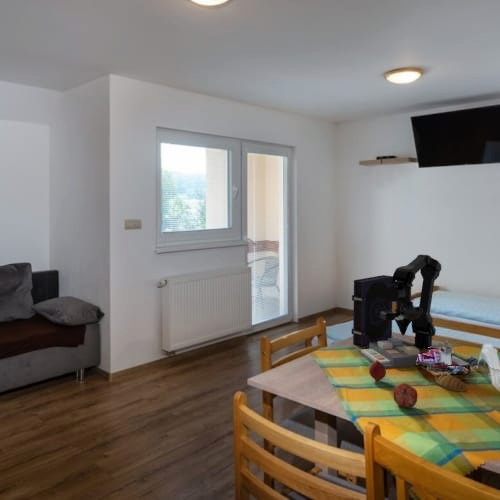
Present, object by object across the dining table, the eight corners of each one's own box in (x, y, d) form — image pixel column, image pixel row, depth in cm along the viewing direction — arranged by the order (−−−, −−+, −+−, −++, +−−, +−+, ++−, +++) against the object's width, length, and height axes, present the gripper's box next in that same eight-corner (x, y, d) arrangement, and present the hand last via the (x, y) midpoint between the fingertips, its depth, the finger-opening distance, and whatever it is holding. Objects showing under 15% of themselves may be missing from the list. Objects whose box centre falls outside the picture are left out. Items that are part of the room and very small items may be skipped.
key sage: (404, 353, 197) (404, 346, 197) (410, 356, 193) (410, 349, 192) (395, 353, 196) (395, 346, 196) (400, 357, 192) (400, 350, 192)
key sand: (412, 353, 190) (413, 346, 190) (418, 356, 186) (419, 349, 186) (403, 354, 190) (403, 346, 189) (408, 357, 185) (409, 350, 185)
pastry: (470, 389, 161) (471, 378, 160) (460, 394, 157) (460, 383, 157) (445, 381, 168) (446, 371, 168) (435, 385, 165) (435, 375, 164)
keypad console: (397, 349, 205) (397, 340, 205) (424, 365, 185) (424, 355, 185) (357, 352, 202) (357, 343, 201) (380, 368, 181) (380, 359, 181)
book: (381, 334, 229) (382, 274, 226) (392, 337, 224) (393, 276, 221) (351, 344, 214) (352, 280, 211) (362, 347, 209) (363, 281, 206)
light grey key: (387, 347, 199) (387, 340, 198) (392, 350, 194) (392, 343, 194) (377, 348, 198) (377, 341, 198) (382, 351, 193) (382, 344, 193)
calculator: (419, 358, 184) (454, 354, 186) (419, 368, 184) (454, 364, 186) (433, 367, 173) (470, 363, 175) (433, 378, 173) (471, 374, 175)
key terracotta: (394, 356, 193) (394, 349, 192) (400, 359, 188) (400, 352, 188) (384, 357, 192) (385, 350, 191) (390, 360, 187) (390, 353, 187)
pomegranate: (393, 407, 152) (386, 397, 145) (400, 386, 155) (394, 376, 148) (416, 415, 148) (410, 406, 141) (422, 393, 150) (417, 383, 143)
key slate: (397, 344, 203) (397, 337, 203) (402, 347, 199) (402, 340, 198) (387, 345, 202) (388, 338, 202) (392, 348, 198) (393, 341, 198)
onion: (386, 379, 170) (387, 358, 169) (384, 385, 165) (384, 363, 164) (370, 377, 172) (371, 356, 172) (367, 382, 167) (368, 361, 166)
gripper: (392, 303, 182) (392, 341, 184) (435, 300, 186) (434, 338, 187) (379, 297, 193) (378, 334, 195) (420, 295, 197) (419, 331, 198)
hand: (402, 334), depth 193 cm, fingers closed
